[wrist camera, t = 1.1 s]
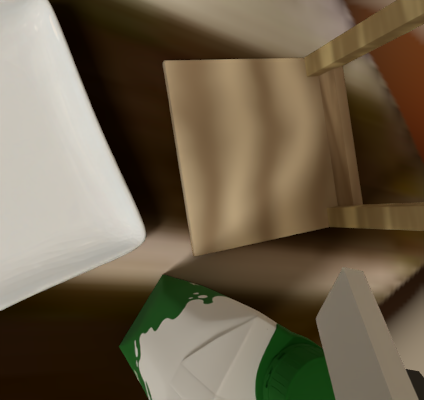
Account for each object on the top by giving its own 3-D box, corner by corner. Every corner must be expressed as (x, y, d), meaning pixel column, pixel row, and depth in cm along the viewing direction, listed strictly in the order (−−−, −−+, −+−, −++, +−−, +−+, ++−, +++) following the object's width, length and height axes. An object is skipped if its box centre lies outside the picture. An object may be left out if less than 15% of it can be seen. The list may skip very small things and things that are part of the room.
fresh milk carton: (233, 306, 38) (405, 391, 20) (185, 395, 36) (325, 584, 18) (159, 259, 36) (275, 307, 17) (102, 352, 34) (164, 522, 15)
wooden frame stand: (193, 255, 37) (448, 329, 13) (162, 63, 36) (369, -222, 13) (345, 222, 44) (696, 230, 20) (321, 59, 43) (650, -131, 19)
